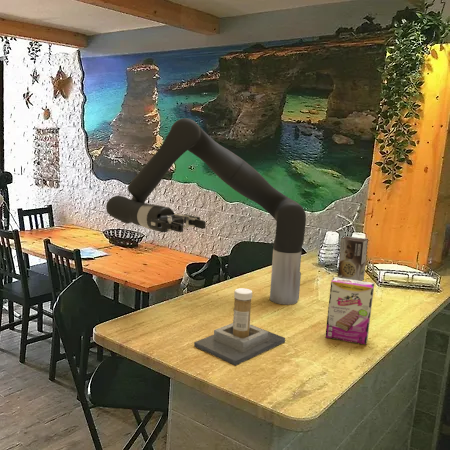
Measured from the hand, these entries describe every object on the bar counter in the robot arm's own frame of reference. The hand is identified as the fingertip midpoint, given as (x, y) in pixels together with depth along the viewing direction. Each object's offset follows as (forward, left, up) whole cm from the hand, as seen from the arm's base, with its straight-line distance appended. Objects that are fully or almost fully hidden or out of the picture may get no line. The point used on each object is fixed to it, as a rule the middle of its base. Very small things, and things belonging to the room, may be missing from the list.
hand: (193, 226), depth 135 cm
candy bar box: (-25, +36, -28) cm, 52 cm away
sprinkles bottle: (0, +19, -27) cm, 33 cm away
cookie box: (-79, +8, -28) cm, 84 cm away
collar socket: (0, +19, -28) cm, 34 cm away
